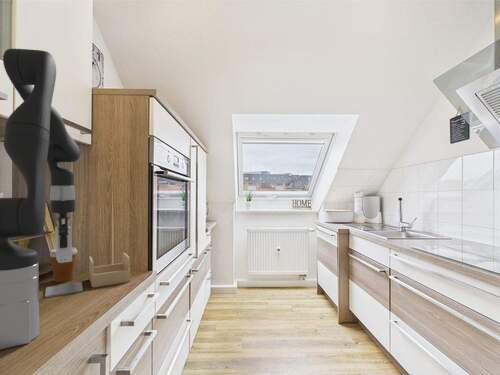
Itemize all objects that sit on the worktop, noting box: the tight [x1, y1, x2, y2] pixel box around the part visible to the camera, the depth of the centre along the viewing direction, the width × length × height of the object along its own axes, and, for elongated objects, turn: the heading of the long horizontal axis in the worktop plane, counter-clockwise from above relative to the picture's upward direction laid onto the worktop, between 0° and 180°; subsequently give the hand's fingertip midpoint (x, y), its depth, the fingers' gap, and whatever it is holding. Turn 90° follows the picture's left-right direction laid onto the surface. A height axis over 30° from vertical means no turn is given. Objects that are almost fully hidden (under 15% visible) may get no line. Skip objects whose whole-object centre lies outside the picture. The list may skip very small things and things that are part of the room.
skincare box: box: [54, 225, 73, 263], centre depth 106 cm, size 6×4×12 cm
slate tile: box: [44, 281, 84, 299], centre depth 106 cm, size 11×11×1 cm
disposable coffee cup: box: [49, 246, 78, 283], centre depth 119 cm, size 10×10×12 cm
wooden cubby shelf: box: [88, 252, 131, 289], centre depth 117 cm, size 13×13×9 cm
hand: (63, 246), depth 106 cm, fingers closed on skincare box, 6 cm apart
